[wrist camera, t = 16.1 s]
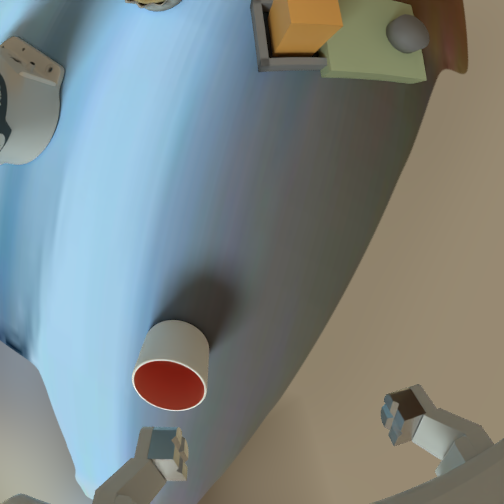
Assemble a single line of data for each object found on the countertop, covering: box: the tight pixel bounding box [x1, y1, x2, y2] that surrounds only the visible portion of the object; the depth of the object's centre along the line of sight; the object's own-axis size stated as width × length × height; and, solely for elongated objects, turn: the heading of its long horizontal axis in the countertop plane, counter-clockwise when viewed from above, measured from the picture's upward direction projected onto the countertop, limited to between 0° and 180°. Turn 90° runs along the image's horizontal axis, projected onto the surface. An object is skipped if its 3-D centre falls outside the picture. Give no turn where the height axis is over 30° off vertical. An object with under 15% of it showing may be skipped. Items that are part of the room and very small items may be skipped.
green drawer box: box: [250, 0, 429, 84], centre depth 28 cm, size 12×22×7 cm, turn 96°
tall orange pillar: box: [267, 0, 343, 57], centre depth 26 cm, size 6×5×12 cm
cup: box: [132, 320, 209, 411], centre depth 40 cm, size 10×10×10 cm
